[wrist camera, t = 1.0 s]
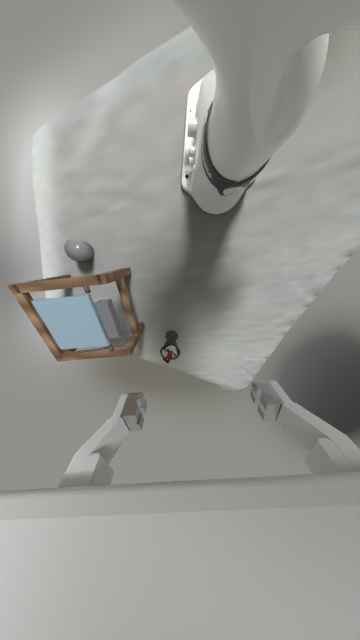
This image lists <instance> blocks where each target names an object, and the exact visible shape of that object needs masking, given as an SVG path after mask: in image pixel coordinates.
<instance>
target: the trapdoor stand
mask: <svg viewBox="0 0 360 640" xmlns="http://www.w3.org/2000/svg"><path fill="white" fill-rule="evenodd" d="M128 275H131V272H130V268H123V269H119V270H115V271H111V272H106V273H102V274H97V275H88V276H80V277H70V275H63V276H57V277H52V278H46V279H41V280H35V281H29V282H23V283H17V284H12V285H8V287H9V289H10V290H11V292H12V293H13V295H14V296H15V298H16V299H17V301H18V302H19V304H20V305H21V307H22V308H23V310H24V311H25V313H26V314H27V316H28V317H29V319H30V320H31V322H32V323H33V325H34V327H35V328H36V329H37V331H38V333H39V334H40V336H41V337H42V339H43V340H44V342H45V343H46V345H47V346H48V347H49V349H50V351H51V352H52V354H53V355H54V357H55V358H56V360H57V361H68V360H79V359H90V358H102V357H113V356H125V355H132V353H133V351H134V349H135V347H136V345H137V342H138V340H139V338H140V336H141V334H142V332H143V330H144V328H145V327H144V323H138V325H137V322H136V318H135V315H134V311H133V307H132V304H131V300H130V297H129V293H128V289H127V286H126V282H125V279H124V277H126V276H128ZM115 280H116V284H117V287H118V290H119V293H120V297H121V300H122V303H123V306H124V310H125V313H126V316H127V319H128V323H129V326H130V329H131V332H132V335H131V337H130V338H129V340H128V342H127V343H126V345H125V347H115V348H113V346H112V345H111V346H109V347H108V348H104V349H93V350H82V351H75V350H76V349H78V348H74V349H60V347H59V346H58V344H57V343H56V341H55V339H54V338H53V336H52V334H51V333H50V331H49V330H48V328H47V326H46V325H45V323H44V322H43V320H42V318H41V317H40V315H39V313H38V312H37V310H36V309H35V307H34V305H33V304H32V302H31V301H33V299H32V297H31V296H30V294H29V292H36V291H46V290H55V289H64V288H73V287H82V286H83V288H84V290H85V293H90V289H89V287H88V286H91V285H100V284H108V283H110V282H113V281H115Z"/></svg>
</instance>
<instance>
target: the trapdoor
mask: <svg viewBox="0 0 360 640" xmlns="http://www.w3.org/2000/svg"><path fill="white" fill-rule="evenodd" d="M31 302H32V304H33V305H34V307H35V309H36V310H37V312H38V313H39V315H40V317H41V318H42V320H43V322H44V323H45V325H46V326H47V328H48V330H49V331H50V333H51V334H52V336H53V338H54V339H55V341H56V343H57V344H58V346H59V347H60V349H74V348H89V347H104V346H109V345H110V341H109V339H113V338H120V337H121V336H122V335H123V333H122V330H121V327H120V324H119V321H118V318H117V315H116V312H115V309H114V306H113V303H112V300H111V299H109V300H99V301H98V302H96V303H95V304H94V302H93V299H92V297H91V294H89V295H79V296H69V297H59V298H49V299H40V300H33V301H31ZM95 305H96V307H95ZM96 308H97V309H96ZM97 310H98V312H97ZM98 313H99V314H98ZM99 315H100V316H99ZM100 318H101V319H100ZM101 320H102V321H101ZM102 323H103V324H102ZM103 325H104V326H103ZM104 328H105V329H104ZM105 330H106V331H105ZM106 333H107V334H106ZM107 335H108V336H107ZM108 338H109V339H108Z"/></svg>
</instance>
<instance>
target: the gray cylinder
mask: <svg viewBox="0 0 360 640" xmlns="http://www.w3.org/2000/svg"><path fill="white" fill-rule="evenodd" d="M64 249H65V252H66V254H67V255H68V257H70V258H71V259H72V260H75V261H84V260H91V259H93V257H94V250H93V248H92V246H91V245H90V244H88V243H86V242H81V241H74V240H69V241H67V242H66V243H65V246H64Z"/></svg>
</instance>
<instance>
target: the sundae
mask: <svg viewBox="0 0 360 640" xmlns="http://www.w3.org/2000/svg"><path fill="white" fill-rule="evenodd" d="M177 338H178V334H177V333H176V332H175V331H169V332H167V333H166V339H167V341H166V343H165V345H164V346H163V347H162V348H161V350H160V353H161V356H162V357H163V360H164V361H165V362H167V363H169V361H170V360H174V359H176V358H177V357H178V356H179V355H180V350H179V348H178V347H177V343H176V341H175V340H176V339H177Z"/></svg>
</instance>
